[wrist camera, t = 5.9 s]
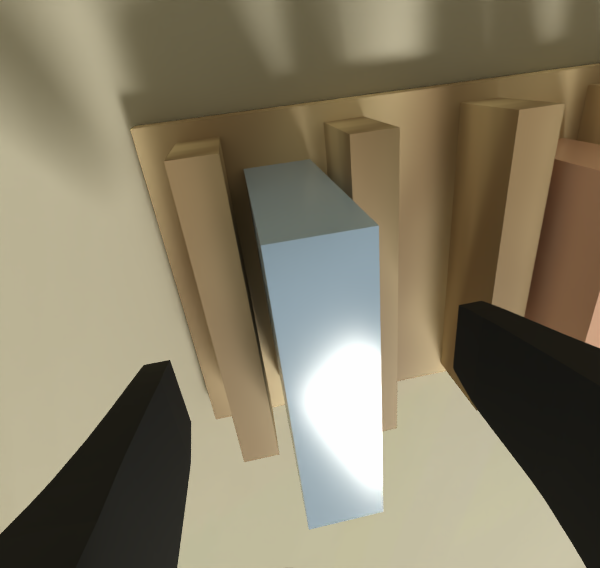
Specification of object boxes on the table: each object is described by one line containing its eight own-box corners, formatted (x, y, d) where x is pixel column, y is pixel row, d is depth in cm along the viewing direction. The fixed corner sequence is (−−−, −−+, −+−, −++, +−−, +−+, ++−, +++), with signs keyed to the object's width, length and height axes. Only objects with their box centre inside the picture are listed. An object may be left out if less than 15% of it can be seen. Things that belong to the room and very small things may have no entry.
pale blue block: (310, 158, 12) (378, 225, 7) (329, 366, 16) (383, 511, 11) (243, 169, 12) (260, 245, 6) (279, 376, 16) (308, 529, 10)
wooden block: (563, 137, 13) (711, 165, 9) (528, 316, 16) (625, 393, 12) (506, 146, 13) (632, 179, 9) (482, 326, 16) (566, 406, 12)
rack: (636, 58, 13) (763, 53, 10) (565, 332, 18) (634, 384, 15) (135, 126, 11) (104, 144, 8) (216, 404, 17) (215, 478, 14)
